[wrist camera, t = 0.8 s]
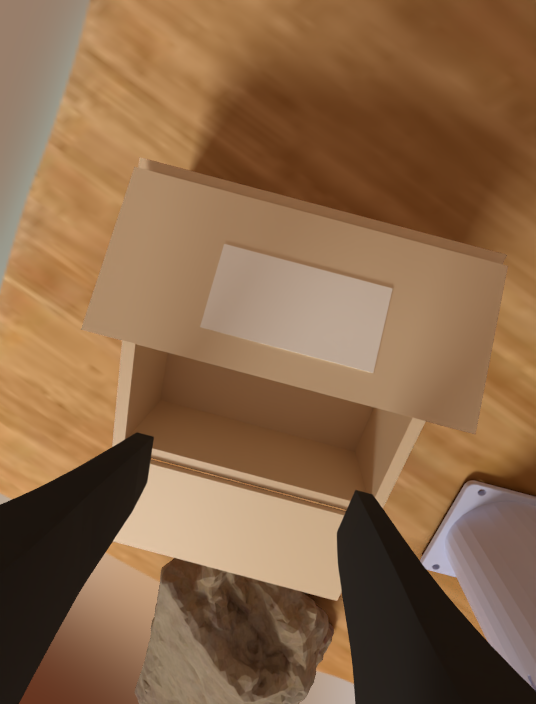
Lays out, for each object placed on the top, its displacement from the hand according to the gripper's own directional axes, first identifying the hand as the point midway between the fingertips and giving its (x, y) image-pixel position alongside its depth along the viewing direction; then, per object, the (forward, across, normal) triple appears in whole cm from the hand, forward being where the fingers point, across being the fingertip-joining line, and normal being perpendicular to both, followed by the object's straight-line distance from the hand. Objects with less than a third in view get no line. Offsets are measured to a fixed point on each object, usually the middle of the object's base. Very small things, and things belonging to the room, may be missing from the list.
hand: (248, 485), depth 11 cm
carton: (+9, 0, 0) cm, 9 cm away
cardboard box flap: (+2, 0, -6) cm, 7 cm away
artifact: (+10, -3, +22) cm, 24 cm away
